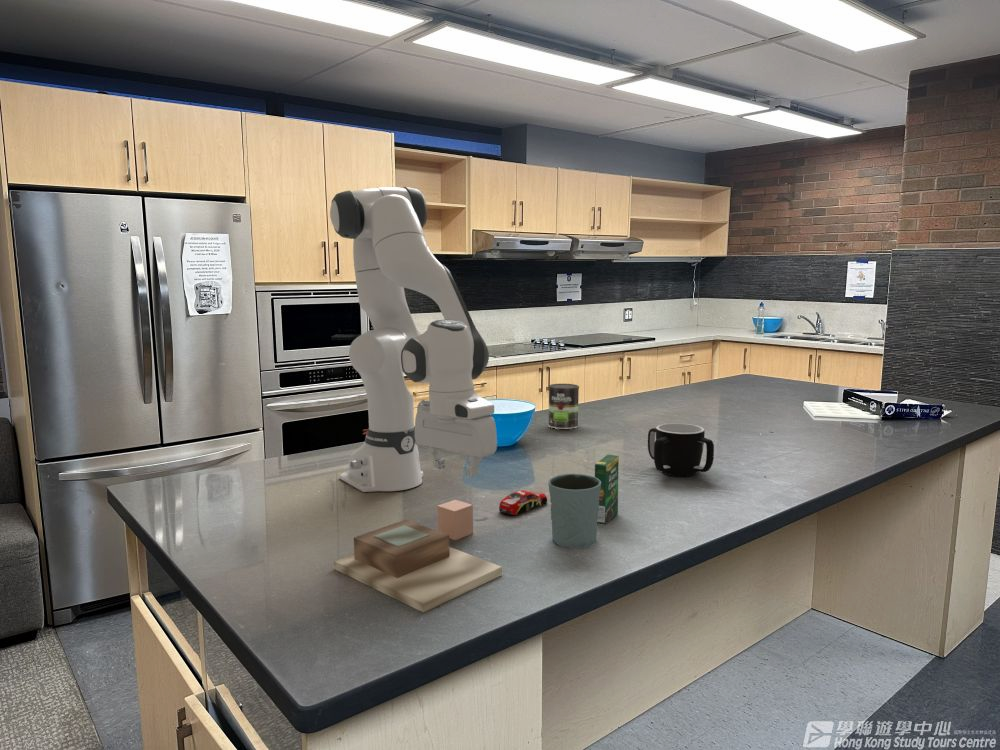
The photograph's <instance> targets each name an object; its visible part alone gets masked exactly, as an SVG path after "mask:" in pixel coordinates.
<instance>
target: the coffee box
mask: <svg viewBox="0 0 1000 750" xmlns="http://www.w3.org/2000/svg"><path fill="white" fill-rule="evenodd" d="M619 460H620V459H619V455H615V454H606V455H604V457H602V458H601V459H600V460H599V461H597V462H596V463H595V464H594V477H596V478H598V479H599V480H600V481H601V489H600V496H599V507H598V508H599V512H598V520H597V524H598V525H603V526H607V524H608V523H609V522H611V521H612V519H613V518H615V517H616V516H617V515H618V514H619V462H620V461H619Z"/></svg>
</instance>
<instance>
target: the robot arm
mask: <svg viewBox="0 0 1000 750" xmlns="http://www.w3.org/2000/svg"><path fill="white" fill-rule="evenodd" d="M329 213H330V214H329V216H330V221H331V225H332V227H333V228H334V231H335V233H336V234H338V235H339V237H341V238H345V239H349V240H353V243H352V246H353V247H352V250H353V251H352V255H353V256H352V258H353V267H354V276H355V283H356V290H357V291H356V292H357V297H358V304H359V306H360V308H361V309H362V310H363V311H364V312H365V313H366V315H367V318H369V321H370V323H371V326H372V328H373V329H371V330H368V331H365V332H364V333H362V334H360V335H359V336H357V337H356V338H355V339H353V340H352V342H351V343H350V347H349V350H348V357H349V361H350V364H351V366H352V367H353V370H355V371H356V372H357V373H358V374H359V376H360V377H361V381H362V383H363V386H364V389H365V393H366V400H367V410H368V411H367V412H368V413H367V414H368V428H367V429H365V428H364V429H362V432H363V433H362V435H365V438H364V443H363V444H361V445H360V446H359V447H358V448H357V449H356V450H355V451H354V452H352V453H351V455H350V456H349V459H348V470H346V471H344V472H342V473H340V474H339V479H340V480H341V481H343V482H345V483H347V484H348V485H350V486H352V487H353V488H356V489H357V490H358V491H360V492H363V493H366V492H367V493H370V492H396V491H397V492H398V491H404V490H409V489H413V488H415V487H418V486H420V485H421V484H422V482H423V477H424V471H423V470H421V462H420V454H419V447H418V445H421V446H424V447H428V448H427V449H428V453H429V456H430V457H431V459H432V462H433V469H436V470H443V469H444V468H445V467H446V466H445V458H443V457H442V455H441V452H440V451H441V450H444V451H449V452H453V453H458V454H463V455H468V460H469V461H470V464H469V466H466V467H465V472H466V473H465V476H467V477H470V478H475V477H477V476H478V475H479V470H478V467H479V466H480V463H481V461H482V460H483V458H486V457H489V456H490V457H491V456H493V455H495V452H496V451H497V449H498V437H497V427H496V422H495V418H494V417H493V416H492V415H493V414H495V405H494V403H493V402H491V401H489V400H487V399H486V398H484V397H483V396H480V394H478V393H477V392H476V393H475V384H474V380H477V378H479V377H480V376H481V375H482V373H484V371H485V369H486V368H487V366H488V364H489V360H490V354H489V348H488V346H487V344H486V342H485V339H484V338H483V337H482V335H481V334H480V332H479V331H478V329H477V327H476V325H475V323H474V321H473V320H472V316H471V314H470V313H469V310H468V308H467V305H466V303H465V301H464V299H463V296H462V295H461V292H460V290H459V288H458V285H457V283H456V281H455V280H454V277H453V275H452V273H451V271H450V269H448V267H446V266H445V264H442V263H441V262H440V261H439V260H438V259H437V257H436V256H435V255H434V254H433V252H432V251H431V249H430V248H429V245H428V243H427V240H426V237H425V234H424V230H423V228H424V226H425V225H426V224H427V219H428V206H427V202H426V197H425V196H424V194H423V193H422V192H421V191H420V190H419V189H417V188H414V187H409V186H404V187H393V186H392V187H391V186H390V187H389V186H383V187H382V186H381V187H380V186H379V187H378V186H377V187H375V188H366V189H365V188H363V189H359V190H353V191H351V190H345V191H340V192H337V193H336V194H335V195H334V197H333V198H332V200H331V204H330V209H329ZM405 289H408V290H412V291H415V292H418V293H421V294H423V295H425V296H427V297H429V298H430V299H431V300H433V301H434V302H435V304H436V305H437V306H438V307H439V310H440V312H441V314H442V317H443V319H438V320H437V319H436V320H434V321H432V322H430V323H429V324H428V326H427V330H426V331H425V332H423V333H421V331H419V330H418V329H417V327H416V325H415V322H414V319H413V317H412V314H411V311H410V308H409V305H408V303H407V300H406V299H407V298H406V294H405ZM404 375H405V376H406V377H407V378H408V379H409V380H410V381H411V382H413V383H419V384H420V383H421V384H425V383H426V384H427V383H429V386H428V397H429V400H428V399H422V400H421V401H419V402H418V404H417V407H416V411H417V412H416V413H415V412H414V411H415V410H414V408H415V407H414V396H413V394H412V392H411V391H410V390H409V388H408V387H407V383H406V379H405V376H404ZM417 444H418V445H417Z"/></svg>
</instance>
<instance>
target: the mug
mask: <svg viewBox="0 0 1000 750" xmlns="http://www.w3.org/2000/svg"><path fill="white" fill-rule="evenodd" d="M705 431H706V430H705V428H703V427H702V426H700V425H697V424H691V423H681V422H680V423H679V422H677V423H676V422H671V423H670V422H669V423H661V424H658V425H657V426H656V427H652V428H650V429H649V430H648V433H647V450H648V455H649V456H650V458H651V459H652V460H653V461H654V467H655V468H656V470H657V471H659V472H662V474H665V475H668V476H671V477H672V476H673V477H682V478H683V477H692V476H695V475H696V474H697V473H698V472H700V473H707V472H708V471H709V470H711V468H712V466H713V463H714V458H715V444H714V441H712V440H711V439H710V438H706V437H705ZM704 444H705V445H706V455H705V457H706V458H705V464H704V466H700V465H701V462H702V455H703V454H704V453H703V452H704Z"/></svg>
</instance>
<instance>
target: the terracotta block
mask: <svg viewBox="0 0 1000 750" xmlns="http://www.w3.org/2000/svg"><path fill="white" fill-rule="evenodd" d="M436 507H437V508H436V510H437V511H436V512H437V531H439V532H442V533H445V534H447V535H449V540H453V541H458V540H460V539H462V538H465V537H467V536H470V535H472V534H474V514H473V512H474V508H473V507H474V506H473V504H470V503H469V502H465V501H461V500H458V499H453V500H450V501H447V502H444V503H440V504H438V505H437V506H436Z"/></svg>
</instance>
